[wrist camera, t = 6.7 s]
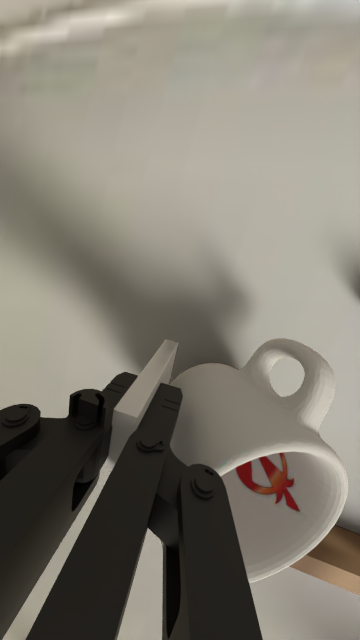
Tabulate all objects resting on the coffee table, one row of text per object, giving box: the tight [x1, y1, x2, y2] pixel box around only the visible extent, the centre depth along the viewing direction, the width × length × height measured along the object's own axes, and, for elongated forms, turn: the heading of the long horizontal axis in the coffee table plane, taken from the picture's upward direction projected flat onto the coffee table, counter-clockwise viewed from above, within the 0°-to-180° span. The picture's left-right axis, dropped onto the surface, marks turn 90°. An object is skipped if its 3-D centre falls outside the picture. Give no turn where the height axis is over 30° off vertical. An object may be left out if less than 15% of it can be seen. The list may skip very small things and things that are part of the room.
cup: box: [161, 339, 348, 583], centre depth 12 cm, size 11×8×8 cm
